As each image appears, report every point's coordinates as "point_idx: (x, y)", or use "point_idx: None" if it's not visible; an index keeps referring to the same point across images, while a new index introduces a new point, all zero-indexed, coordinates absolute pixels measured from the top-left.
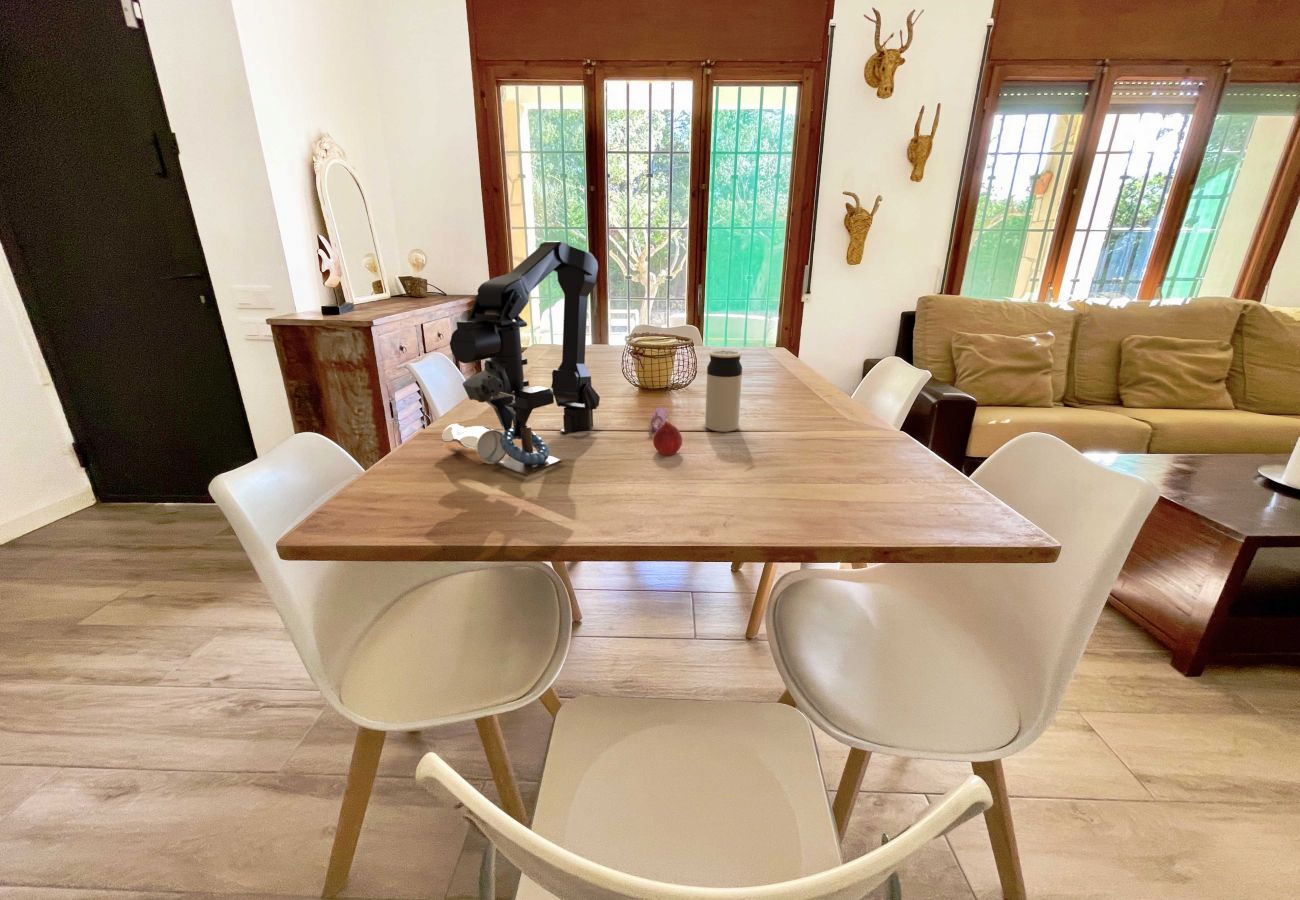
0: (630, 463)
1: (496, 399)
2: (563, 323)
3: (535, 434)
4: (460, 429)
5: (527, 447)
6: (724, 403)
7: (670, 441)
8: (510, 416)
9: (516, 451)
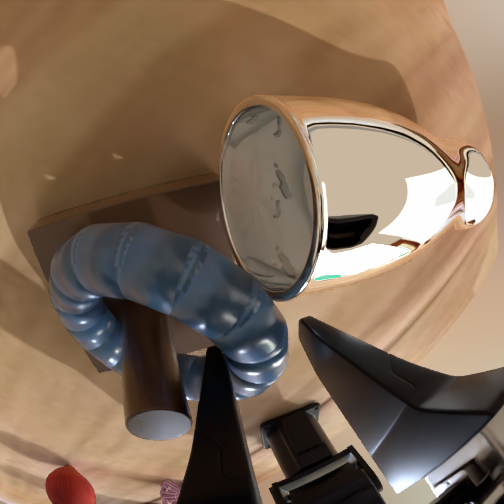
0: (61, 436)
1: (458, 449)
2: None
3: None
4: (465, 182)
5: (122, 334)
6: None
7: (46, 491)
8: (343, 403)
9: (62, 269)
